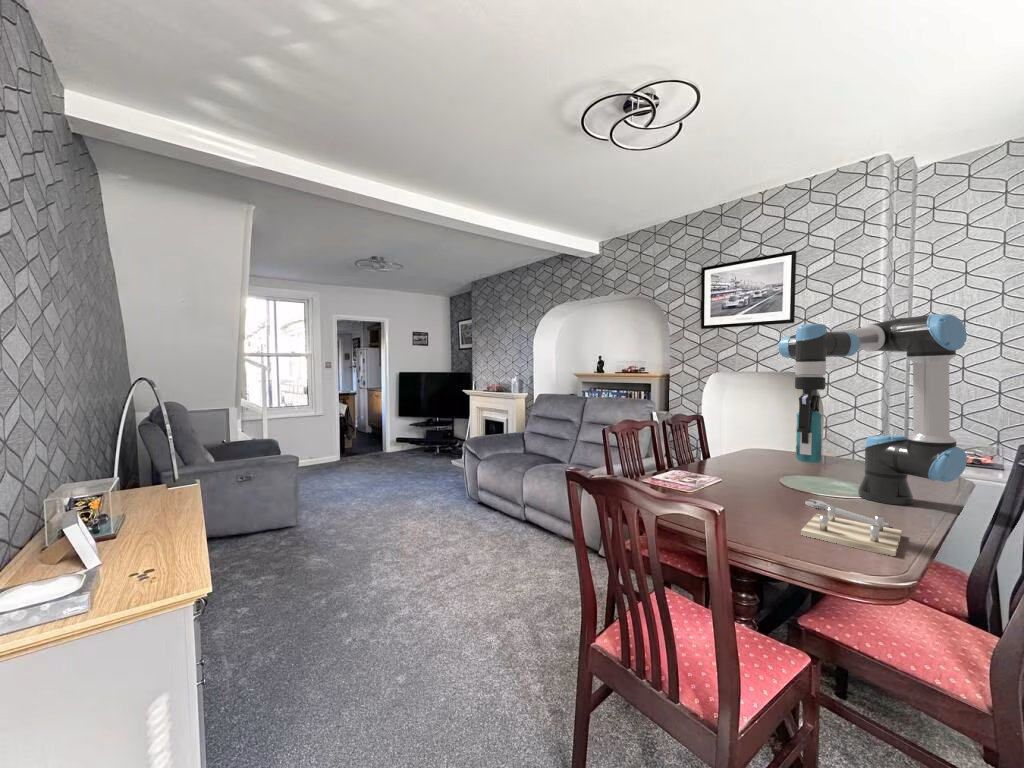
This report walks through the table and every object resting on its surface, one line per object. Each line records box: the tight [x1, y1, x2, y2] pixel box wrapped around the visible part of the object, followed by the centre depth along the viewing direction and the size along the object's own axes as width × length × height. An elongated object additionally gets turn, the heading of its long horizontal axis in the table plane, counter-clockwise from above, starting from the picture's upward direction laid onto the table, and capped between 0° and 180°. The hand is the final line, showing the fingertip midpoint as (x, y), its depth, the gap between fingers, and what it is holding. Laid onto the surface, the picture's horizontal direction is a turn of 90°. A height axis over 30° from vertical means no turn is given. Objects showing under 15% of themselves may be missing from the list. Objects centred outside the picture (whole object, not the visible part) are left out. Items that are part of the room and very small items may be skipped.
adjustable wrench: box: [804, 499, 890, 528], centre depth 140 cm, size 25×6×2 cm, turn 14°
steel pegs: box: [820, 506, 885, 543], centre depth 122 cm, size 13×13×4 cm
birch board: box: [800, 513, 903, 557], centre depth 122 cm, size 20×20×2 cm
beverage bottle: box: [795, 402, 823, 464], centre depth 131 cm, size 6×7×20 cm
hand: (808, 452), depth 131 cm, fingers closed on beverage bottle, 6 cm apart
